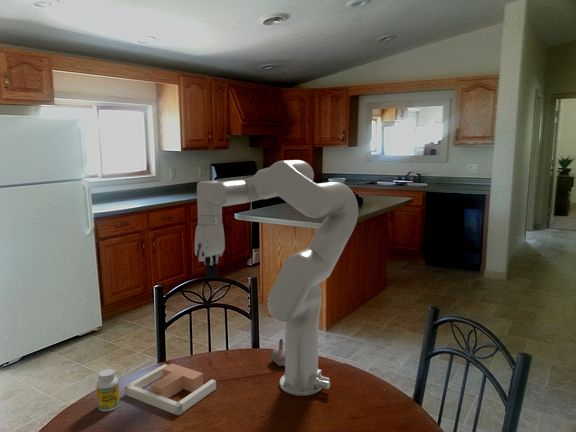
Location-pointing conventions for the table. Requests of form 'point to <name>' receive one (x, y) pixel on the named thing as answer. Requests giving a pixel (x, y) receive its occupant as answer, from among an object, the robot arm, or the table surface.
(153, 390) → the t block
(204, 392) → the frame
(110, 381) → the supplement bottle
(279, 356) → the garlic bulb
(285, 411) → the table surface
